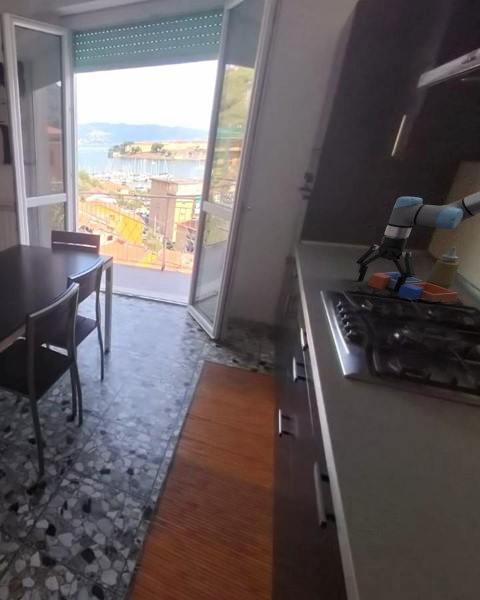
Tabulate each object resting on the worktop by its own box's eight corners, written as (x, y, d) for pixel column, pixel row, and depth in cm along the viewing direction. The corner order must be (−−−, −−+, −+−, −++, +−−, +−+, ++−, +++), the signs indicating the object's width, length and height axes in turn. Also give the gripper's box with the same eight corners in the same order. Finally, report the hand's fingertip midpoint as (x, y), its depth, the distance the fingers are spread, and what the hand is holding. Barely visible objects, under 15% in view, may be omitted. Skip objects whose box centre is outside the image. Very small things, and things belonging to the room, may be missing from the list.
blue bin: (419, 289, 148) (423, 281, 147) (396, 290, 147) (399, 282, 145) (393, 279, 159) (396, 271, 157) (371, 281, 157) (374, 273, 155)
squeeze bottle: (446, 288, 149) (464, 246, 142) (452, 294, 143) (472, 251, 136) (420, 284, 153) (437, 243, 146) (425, 290, 147) (443, 248, 139)
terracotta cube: (387, 287, 150) (391, 276, 148) (380, 289, 148) (384, 278, 146) (374, 283, 154) (378, 272, 152) (367, 285, 152) (371, 274, 150)
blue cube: (418, 299, 138) (424, 287, 136) (411, 301, 136) (416, 289, 134) (403, 295, 142) (408, 283, 140) (396, 297, 141) (401, 285, 139)
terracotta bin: (454, 301, 137) (458, 293, 135) (429, 303, 135) (433, 294, 133) (423, 290, 147) (427, 282, 145) (400, 292, 145) (403, 284, 144)
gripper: (439, 243, 133) (417, 294, 142) (367, 229, 154) (352, 275, 163) (428, 245, 131) (406, 298, 139) (357, 231, 151) (341, 277, 160)
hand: (377, 285), depth 151 cm, fingers open, 13 cm apart
